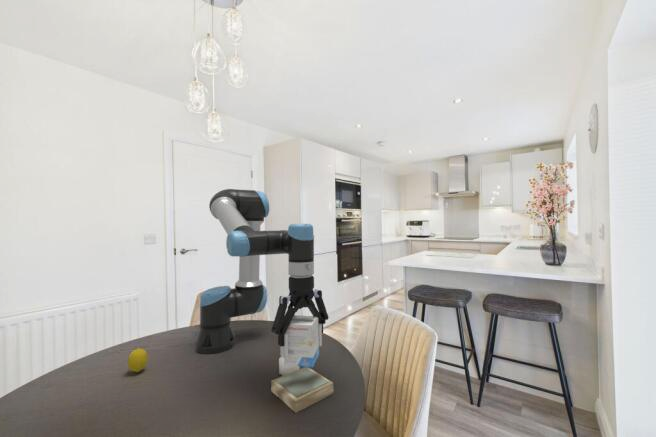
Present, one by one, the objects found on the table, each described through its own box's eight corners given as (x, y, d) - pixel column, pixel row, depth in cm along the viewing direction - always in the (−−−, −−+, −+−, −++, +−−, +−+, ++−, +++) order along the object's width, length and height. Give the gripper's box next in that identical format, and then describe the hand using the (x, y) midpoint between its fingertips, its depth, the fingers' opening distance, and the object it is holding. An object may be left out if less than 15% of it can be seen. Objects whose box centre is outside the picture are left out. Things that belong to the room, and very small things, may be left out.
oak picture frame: (271, 391, 82) (271, 379, 82) (306, 375, 91) (306, 365, 91) (295, 413, 72) (295, 400, 73) (333, 393, 81) (333, 382, 81)
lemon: (150, 370, 95) (151, 346, 96) (133, 378, 90) (134, 353, 91) (140, 366, 98) (141, 343, 98) (123, 374, 93) (124, 350, 93)
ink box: (319, 354, 85) (319, 310, 86) (312, 368, 77) (312, 318, 77) (292, 352, 87) (292, 308, 87) (283, 365, 79) (282, 317, 79)
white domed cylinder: (275, 370, 94) (275, 358, 95) (292, 363, 99) (292, 352, 99) (286, 378, 89) (286, 366, 89) (304, 371, 94) (303, 359, 94)
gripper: (271, 282, 72) (272, 368, 71) (339, 272, 88) (340, 343, 87) (258, 279, 78) (258, 358, 77) (324, 270, 93) (324, 336, 93)
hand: (301, 350), depth 82 cm, fingers closed on ink box, 11 cm apart
